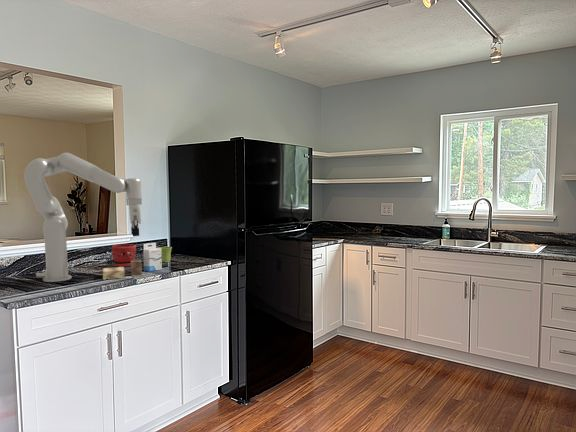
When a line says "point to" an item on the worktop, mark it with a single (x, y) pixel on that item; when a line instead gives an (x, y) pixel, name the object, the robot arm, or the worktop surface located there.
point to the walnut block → (136, 267)
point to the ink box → (152, 257)
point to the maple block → (113, 273)
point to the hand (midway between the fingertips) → (135, 234)
